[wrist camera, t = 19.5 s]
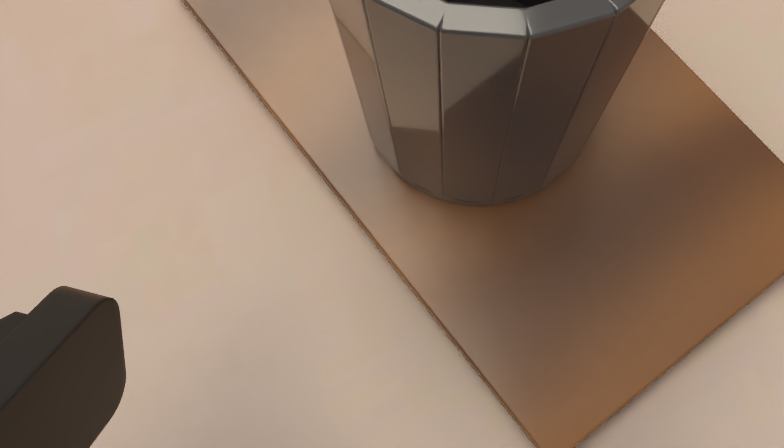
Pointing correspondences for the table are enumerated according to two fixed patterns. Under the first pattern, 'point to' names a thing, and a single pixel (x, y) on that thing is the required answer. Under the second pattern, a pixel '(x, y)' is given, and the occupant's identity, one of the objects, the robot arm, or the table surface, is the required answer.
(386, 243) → the plate
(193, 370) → the table surface
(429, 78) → the open gray tube
